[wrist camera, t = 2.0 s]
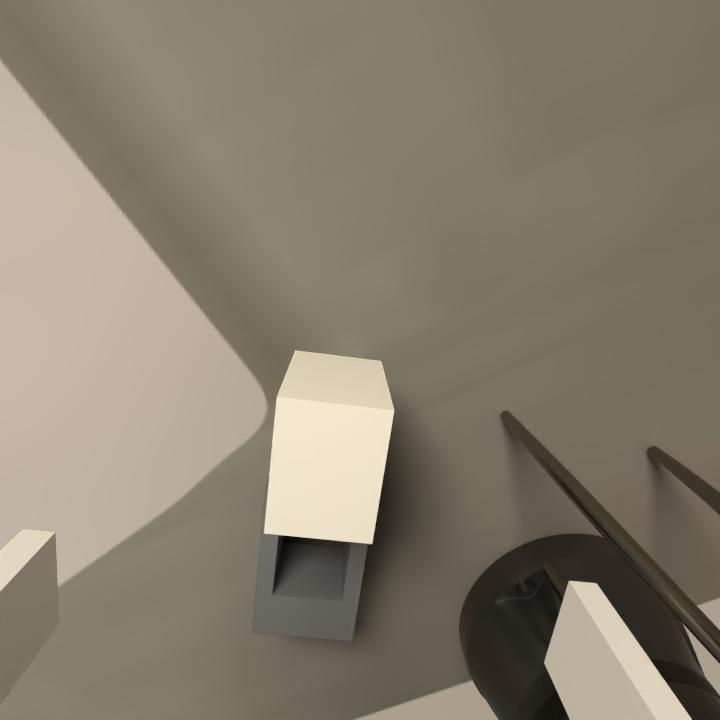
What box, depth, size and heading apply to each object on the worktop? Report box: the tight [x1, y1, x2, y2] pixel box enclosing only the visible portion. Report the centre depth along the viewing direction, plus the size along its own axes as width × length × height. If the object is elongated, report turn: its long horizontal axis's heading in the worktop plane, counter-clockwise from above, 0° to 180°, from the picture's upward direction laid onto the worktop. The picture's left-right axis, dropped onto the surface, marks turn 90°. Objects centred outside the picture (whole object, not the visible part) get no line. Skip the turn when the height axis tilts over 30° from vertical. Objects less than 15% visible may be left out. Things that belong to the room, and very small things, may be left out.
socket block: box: [252, 477, 368, 641], centre depth 31 cm, size 6×10×5 cm, turn 172°
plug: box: [264, 350, 394, 544], centre depth 25 cm, size 4×6×12 cm
